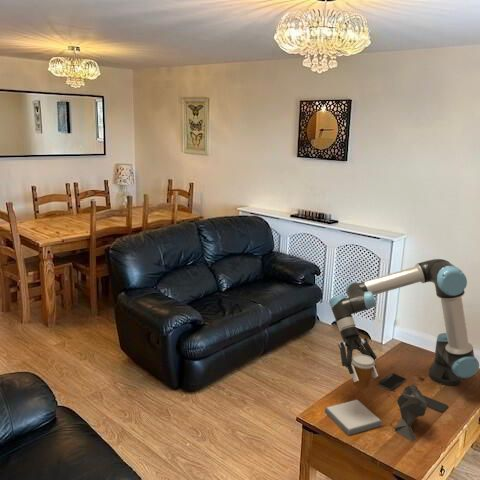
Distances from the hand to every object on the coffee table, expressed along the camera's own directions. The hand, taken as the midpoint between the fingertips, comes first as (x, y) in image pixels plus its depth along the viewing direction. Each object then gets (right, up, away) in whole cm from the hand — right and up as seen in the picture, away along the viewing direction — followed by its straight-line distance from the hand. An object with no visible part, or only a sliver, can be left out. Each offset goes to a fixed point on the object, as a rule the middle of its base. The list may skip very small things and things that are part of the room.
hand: (366, 379), depth 200 cm
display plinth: (-5, -18, +3) cm, 19 cm away
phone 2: (+21, -12, +32) cm, 40 cm away
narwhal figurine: (+17, -20, -1) cm, 26 cm away
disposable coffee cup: (-1, -4, +4) cm, 6 cm away
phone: (+33, -16, +16) cm, 40 cm away
